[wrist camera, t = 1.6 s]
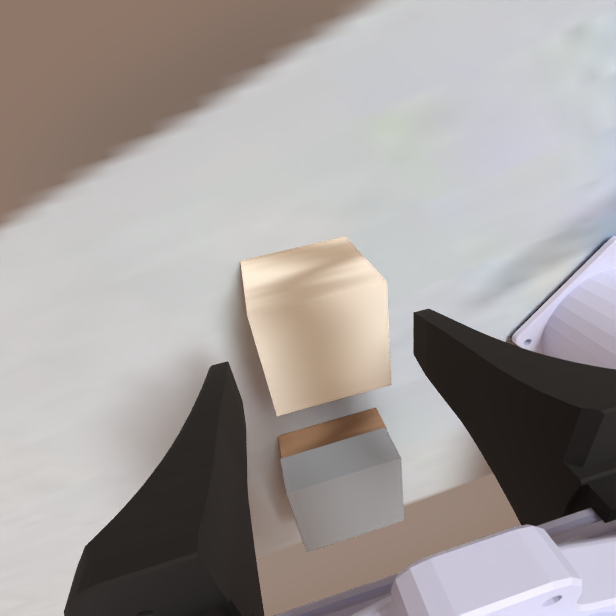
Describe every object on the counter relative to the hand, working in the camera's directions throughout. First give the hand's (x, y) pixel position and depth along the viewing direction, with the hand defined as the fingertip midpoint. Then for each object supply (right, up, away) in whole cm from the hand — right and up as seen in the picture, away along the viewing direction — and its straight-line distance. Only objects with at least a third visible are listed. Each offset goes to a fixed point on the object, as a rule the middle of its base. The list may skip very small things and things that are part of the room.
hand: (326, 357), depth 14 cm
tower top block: (+1, -9, +9) cm, 13 cm away
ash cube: (-1, +3, +4) cm, 5 cm away
